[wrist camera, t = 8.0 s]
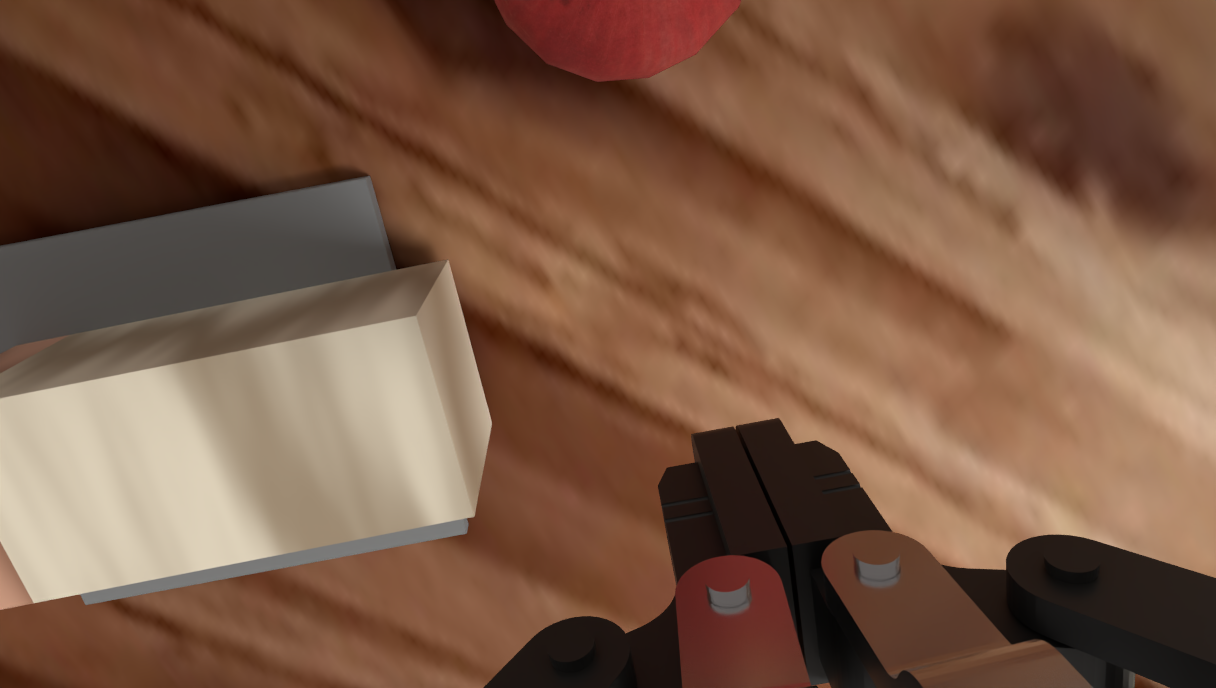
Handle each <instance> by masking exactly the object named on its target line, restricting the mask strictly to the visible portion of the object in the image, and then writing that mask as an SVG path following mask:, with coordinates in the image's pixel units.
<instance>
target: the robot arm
mask: <svg viewBox="0 0 1216 688" xmlns="http://www.w3.org/2000/svg"><path fill="white" fill-rule="evenodd" d="M691 438H692V446H693V453H694V459H695V463H690V464H685V465H679V466H674V467H668V468H667V469H666V471H665V473H664V475H663V477H662V479H661V481H660V483H659V485H658V489H659V495H660V500H661V506H662V511H663V517H664V522H665V528H666V533H667V539H668V544H669V550H670V555H671V560H672V566H673V571H674V576H675V581H676V586H677V587H676V592H675V596H674V599H673V600H672V602H671V604H670V605H669V606H668V608H667V609H666V610H665V611H664V612H663V613H662V614H661V615H659V616H658V617H657V618H655V619H654V620H652V621H651V622H649V623H647V624H646V625H644V626H642V627H640V628H637V629H635V630H633V631H630V632H628V633H626V634H625V632H624V631H623V630H622V629H621V628H620V627H619V626H618V625H616V624H615V623H613V622H611V621H609V620H607V619H603V618H599V617H591V616H582V617H574V618H569V619H565V620H562V621H559V622H557V623H554V624H552V625H550V626H548V627H546V628H545V629H543V630H542V631H540V632H539V633H538V634H536V635H535V636H534V637H533V638H532V639H531V640H530V641H529V642H528V643H527V644H526V645H525V646H524V647H523V648H522V649H521V650H520V651H519V652H518V653H517V654H516V655H515V656H514V657H513V658H512V659H511V660H510V661H509V662H508V663H507V664H506V665H505V666H504V667H503V668H502V669H501V670H500V671H499V672H498V673H497V674H496V675H495V677H494V678H493V679H492V680H491V681H490V682H489V683H488V684H487V685H486V686H485V687H484V688H818V687H817V686H812V685H817V684H823V683H830V686H831V688H1134V686H1135V673H1136V674H1138V675H1141V676H1143V677H1145V678H1148V679H1150V680H1153V681H1155V682H1158V683H1160V684H1163V685H1165V686H1167V687H1170V688H1216V578H1214V577H1210V576H1207V575H1204V574H1201V573H1197V572H1194V571H1191V570H1188V569H1185V568H1181V567H1178V566H1175V565H1172V564H1168V563H1165V562H1162V561H1159V560H1155V559H1152V558H1149V557H1146V556H1143V555H1139V554H1136V553H1133V552H1130V551H1126V550H1123V549H1120V548H1117V547H1113V546H1110V545H1107V544H1104V543H1101V542H1097V541H1094V540H1090V539H1087V538H1082V537H1077V536H1070V535H1043V536H1037V537H1032V538H1029V539H1026V540H1024V541H1022V542H1020V543H1018V544H1016V545H1015V546H1014V547H1013V548H1012V549H1011V550H1010V552H1009V553H1008V555H1007V559H1006V570H993V569H967V568H956V567H950V566H945V565H941V564H940V563H939V562H938V561H937V560H936V559H935V557H934V556H933V555H932V554H931V553H930V552H929V551H928V550H927V549H926V548H925V547H924V546H923V545H922V544H920V543H919V542H917V541H916V540H914V539H912V538H910V537H908V536H905V535H902V534H899V533H894V532H892V530H891V529H890V527H889V526H888V524H887V523H886V522H885V520H884V519H883V517H882V516H881V514H880V513H879V511H878V510H877V508H876V507H875V505H874V504H873V503H872V501H871V500H870V498H869V497H868V495H867V494H866V492H865V491H864V489H863V488H861V487H860V484H859V482H858V481H857V479H856V478H855V476H854V475H853V473H851V472H850V469H849V467H848V466H847V465H846V463H845V462H844V460H843V459H842V457H841V456H840V454H839V453H838V452H836V451H834V450H832V449H831V448H829V447H827V446H825V445H823V444H822V443H820V442H818V441H810V442H805V443H799V444H794V442H793V441H792V439H791V437H790V436H789V434H788V432H787V430H786V429H785V427H784V425H783V424H782V422H781V420H780V419H779V418H776V419H770V420H765V421H759V422H754V423H749V424H743V425H738V426H736V430H735V428H734V427H727V428H722V429H716V430H711V431H706V432H700V433H695V434H691Z"/></svg>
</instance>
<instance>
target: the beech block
mask: <svg viewBox="0 0 1216 688" xmlns="http://www.w3.org/2000/svg"><path fill="white" fill-rule="evenodd" d="M491 426H492V421H491V418H490V414H489V410H488V406H487V403H486V399H485V395H484V391H483V388H482V384H481V380H480V376H479V373H478V369H477V365H476V361H475V358H474V354H473V350H472V347H471V343H470V339H469V335H468V332H467V328H466V324H465V320H464V317H463V313H462V309H461V305H460V302H459V298H458V294H457V290H456V287H455V283H454V279H453V275H452V272H451V268H450V264H449V261H448V260H443V261H438V262H433V263H428V264H423V265H418V266H413V267H408V268H403V269H398V270H393V271H388V272H383V273H378V274H373V275H368V276H363V277H358V278H353V279H348V280H343V281H338V282H333V283H328V284H323V285H318V286H312V287H307V288H302V289H297V290H292V291H287V292H282V293H277V294H272V295H267V296H262V297H257V298H252V299H247V300H242V301H237V302H232V303H227V304H222V305H217V306H212V307H207V308H202V309H197V310H192V311H187V312H182V313H177V314H172V315H167V316H162V317H157V318H152V319H147V320H142V321H137V322H132V323H127V324H122V325H117V326H112V327H107V328H102V329H97V330H92V331H87V332H82V333H77V334H72V335H67V336H62V337H57V338H52V339H47V340H42V341H37V342H32V343H27V344H22V345H17V346H14V347H12V348H11V349H9V350H7V351H5V352H3V353H1V354H0V610H1V609H6V608H11V607H17V606H22V605H27V604H32V603H37V602H42V601H47V600H52V599H57V598H62V597H67V596H73V595H78V594H83V593H88V592H93V591H98V590H103V589H108V588H113V587H118V586H124V585H129V584H134V583H139V582H144V581H149V580H154V579H159V578H164V577H169V576H175V575H180V574H185V573H190V572H195V571H200V570H205V569H210V568H215V567H220V566H225V565H231V564H236V563H241V562H246V561H251V560H256V559H261V558H266V557H271V556H276V555H282V554H287V553H292V552H297V551H302V550H307V549H312V548H317V547H322V546H327V545H332V544H338V543H343V542H348V541H353V540H358V539H363V538H368V537H373V536H378V535H383V534H389V533H394V532H399V531H404V530H409V529H414V528H419V527H424V526H429V525H434V524H440V523H445V522H450V521H455V520H460V519H465V518H470V517H474V516H475V510H476V505H477V500H478V494H479V489H480V484H481V479H482V473H483V468H484V463H485V457H486V452H487V447H488V442H489V436H490V431H491Z"/></svg>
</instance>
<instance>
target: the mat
mask: <svg viewBox="0 0 1216 688" xmlns="http://www.w3.org/2000/svg"><path fill="white" fill-rule="evenodd" d="M393 270H396V266H395V263H394V259H393V256H392V252H391V249H390V245H389V242H388V238H387V234H386V231H385V227H384V224H383V220H382V217H381V213H380V210H379V206H378V203H377V199H376V195H375V192H374V188H373V185H372V181H371V178H370V176H365V177H360V178H354V179H349V180H344V181H339V182H333V183H328V184H323V185H318V186H312V187H307V188H302V189H297V190H291V191H286V192H281V193H276V194H270V195H265V196H260V197H255V198H249V199H244V200H239V201H234V202H228V203H223V204H218V205H213V206H207V207H202V208H197V209H192V210H186V211H181V212H176V213H171V214H165V215H160V216H155V217H150V218H144V219H139V220H134V221H129V222H123V223H118V224H113V225H108V226H102V227H97V228H92V229H87V230H81V231H76V232H71V233H66V234H60V235H55V236H50V237H45V238H39V239H34V240H29V241H24V242H18V243H13V244H8V245H3V246H0V354H1V353H3V352H5V351H7V350H9V349H11V348H12V347H14V346H17V345H22V344H27V343H32V342H37V341H42V340H47V339H52V338H57V337H62V336H67V335H72V334H77V333H82V332H87V331H92V330H97V329H102V328H107V327H112V326H117V325H122V324H127V323H132V322H137V321H142V320H147V319H152V318H157V317H162V316H167V315H172V314H177V313H182V312H187V311H192V310H197V309H202V308H207V307H212V306H217V305H222V304H227V303H232V302H237V301H242V300H247V299H252V298H257V297H262V296H267V295H272V294H277V293H282V292H287V291H292V290H297V289H302V288H307V287H312V286H318V285H323V284H328V283H333V282H338V281H343V280H348V279H353V278H358V277H363V276H368V275H373V274H378V273H383V272H388V271H393ZM467 529H468V521H467V518H465V519H460V520H455V521H450V522H445V523H440V524H434V525H429V526H424V527H419V528H414V529H409V530H404V531H399V532H394V533H389V534H383V535H378V536H373V537H368V538H363V539H358V540H353V541H348V542H343V543H338V544H332V545H327V546H322V547H317V548H312V549H307V550H302V551H297V552H292V553H287V554H282V555H276V556H271V557H266V558H261V559H256V560H251V561H246V562H241V563H236V564H231V565H225V566H220V567H215V568H210V569H205V570H200V571H195V572H190V573H185V574H180V575H175V576H169V577H164V578H159V579H154V580H149V581H144V582H139V583H134V584H129V585H124V586H118V587H113V588H108V589H103V590H98V591H93V592H88V593H83V594H80V595H81V597H82V599H83V601H84V603H85V605H88V604H93V603H99V602H104V601H109V600H115V599H120V598H125V597H131V596H136V595H141V594H147V593H152V592H157V591H163V590H168V589H173V588H179V587H184V586H189V585H195V584H200V583H205V582H211V581H216V580H221V579H227V578H232V577H237V576H243V575H248V574H253V573H259V572H264V571H269V570H275V569H280V568H285V567H291V566H296V565H301V564H307V563H312V562H317V561H323V560H328V559H333V558H339V557H344V556H349V555H355V554H360V553H365V552H371V551H376V550H381V549H387V548H392V547H397V546H403V545H408V544H413V543H419V542H424V541H429V540H435V539H440V538H445V537H451V536H456V535H461V534H467Z"/></svg>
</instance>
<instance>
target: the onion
mask: <svg viewBox="0 0 1216 688" xmlns="http://www.w3.org/2000/svg"><path fill="white" fill-rule="evenodd" d="M494 1H495V3H496V5H497V7H498V9H499V11H500V13H501V15H502V17H503V19H504V21H505V23H506V25H507V26H508V27H509V28H510V29H511V30H512V31H513V32H515V33H516V34H517V35H518V36H519V37H520V38H521V39H522V40H523V41H524V42H525V43H526V44H527V45H528V46H529V47H530V48H531V49H532V50H533V51H534V52H535V53H536V54H537V55H538V56H539V57H540V58H541V59H542V60H543V61H545V62H546V63H547V64H549V65H552V66H555V67H558V68H560V69H563V70H566V71H569V72H571V73H574V74H577V75H580V76H582V77H585V78H588V79H591V80H593V81H596V82H600V81H613V80H626V79H639V78H649V77H651V76H653V75H655V74H657V73H659V72H661V71H663V70H665V69H667V68H669V67H671V66H673V65H675V64H677V63H679V62H681V61H683V60H685V59H687V58H689V57H691V56H693V55H695V54H697V52H698V51H699V50H700V49H701V48H702V47H703V46H704V45H705V44H706V42H707V41H708V40H709V39H710V38H711V37H712V36H713V35H714V34H715V32H716V31H717V30H718V29H719V28H720V27H721V26H722V25H723V24H724V22H725V21H726V20H727V19H728V18H729V17H730V16H731V15H732V14H733V13H734V11H735V10H736V9H737V8H738V7H739V5H740V2H741V0H494Z"/></svg>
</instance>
